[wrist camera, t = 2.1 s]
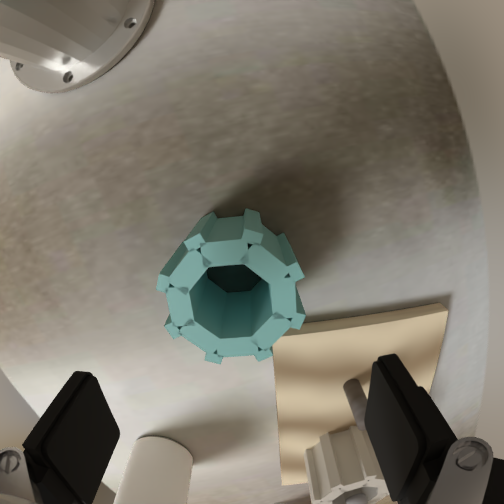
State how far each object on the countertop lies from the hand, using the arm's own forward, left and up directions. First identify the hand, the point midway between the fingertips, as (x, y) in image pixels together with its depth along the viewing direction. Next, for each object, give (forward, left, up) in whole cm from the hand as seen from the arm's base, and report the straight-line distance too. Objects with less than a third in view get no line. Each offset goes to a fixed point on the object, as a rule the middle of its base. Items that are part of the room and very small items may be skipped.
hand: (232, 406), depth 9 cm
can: (+19, -10, -13) cm, 25 cm away
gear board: (+14, +9, -13) cm, 21 cm away
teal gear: (-1, 0, -13) cm, 13 cm away
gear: (+19, +8, -11) cm, 23 cm away
